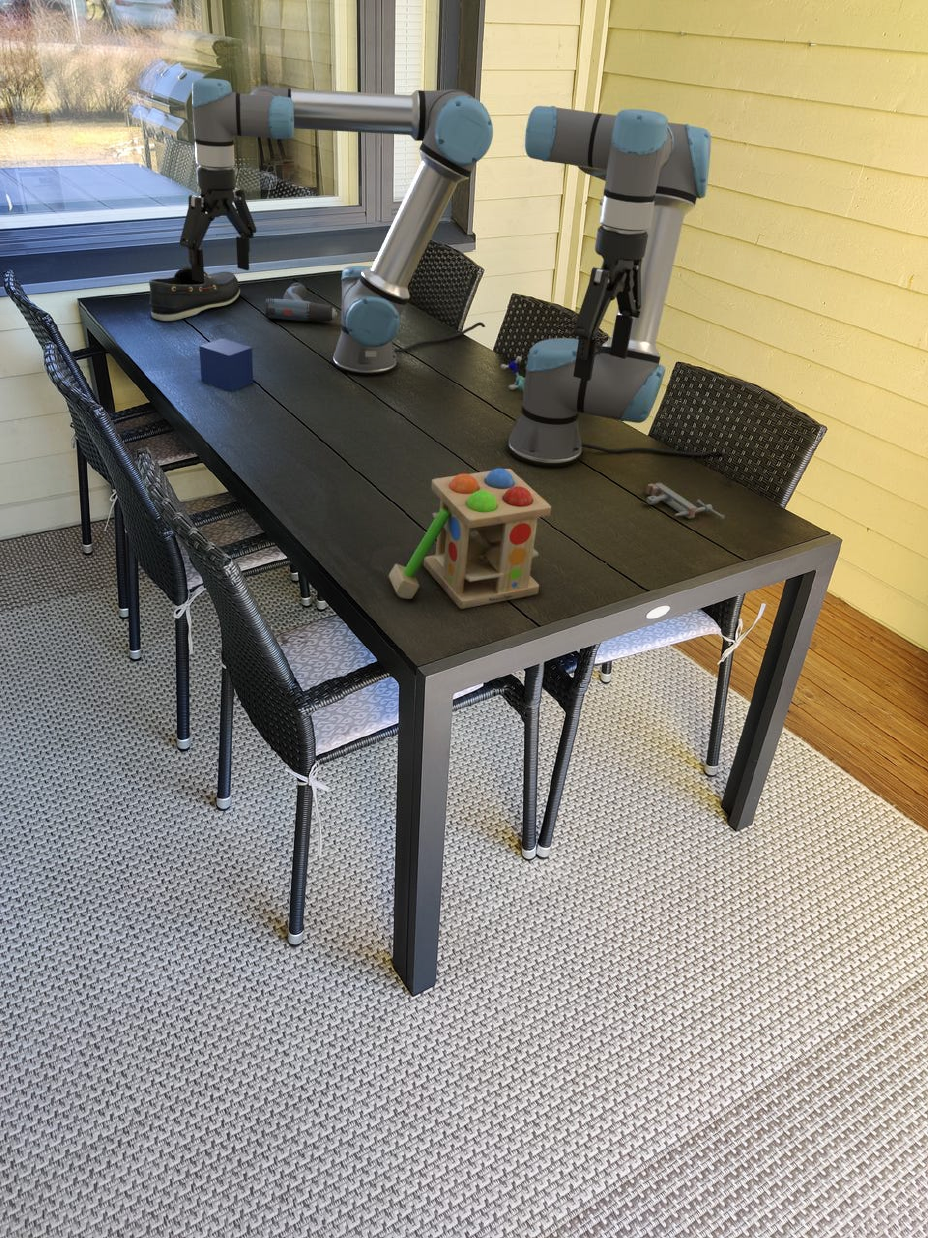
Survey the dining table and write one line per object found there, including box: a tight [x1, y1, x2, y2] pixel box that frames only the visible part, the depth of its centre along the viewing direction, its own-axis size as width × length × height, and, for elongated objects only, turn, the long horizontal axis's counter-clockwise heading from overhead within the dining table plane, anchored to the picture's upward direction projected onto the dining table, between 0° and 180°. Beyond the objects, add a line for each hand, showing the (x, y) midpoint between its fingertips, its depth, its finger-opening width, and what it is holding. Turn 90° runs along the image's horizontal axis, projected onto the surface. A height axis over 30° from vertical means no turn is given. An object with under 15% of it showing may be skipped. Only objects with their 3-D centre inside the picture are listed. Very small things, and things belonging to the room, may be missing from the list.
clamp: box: [645, 482, 726, 521], centre depth 187 cm, size 15×2×10 cm
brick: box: [198, 338, 254, 392], centre depth 220 cm, size 7×9×8 cm
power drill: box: [264, 282, 338, 322], centre depth 265 cm, size 5×19×20 cm
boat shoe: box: [148, 265, 241, 322], centre depth 262 cm, size 13×33×10 cm, turn 147°
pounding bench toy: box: [388, 468, 552, 610], centre depth 154 cm, size 23×14×18 cm, turn 116°
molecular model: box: [500, 355, 525, 394], centre depth 230 cm, size 12×10×10 cm
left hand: (221, 274), depth 209 cm, fingers open, 13 cm apart
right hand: (600, 367), depth 157 cm, fingers open, 13 cm apart
